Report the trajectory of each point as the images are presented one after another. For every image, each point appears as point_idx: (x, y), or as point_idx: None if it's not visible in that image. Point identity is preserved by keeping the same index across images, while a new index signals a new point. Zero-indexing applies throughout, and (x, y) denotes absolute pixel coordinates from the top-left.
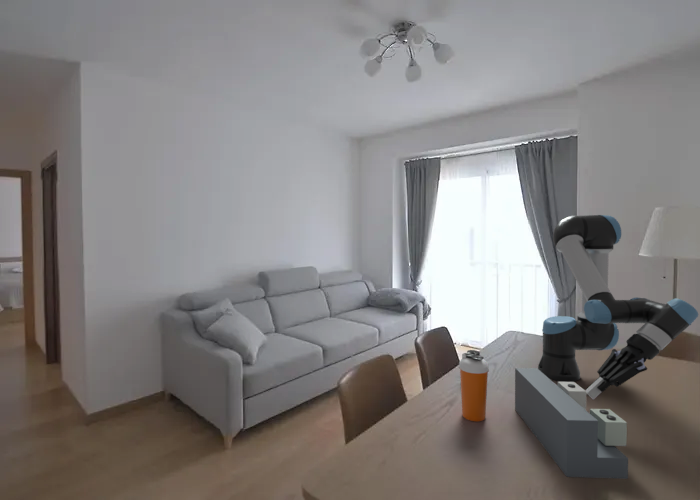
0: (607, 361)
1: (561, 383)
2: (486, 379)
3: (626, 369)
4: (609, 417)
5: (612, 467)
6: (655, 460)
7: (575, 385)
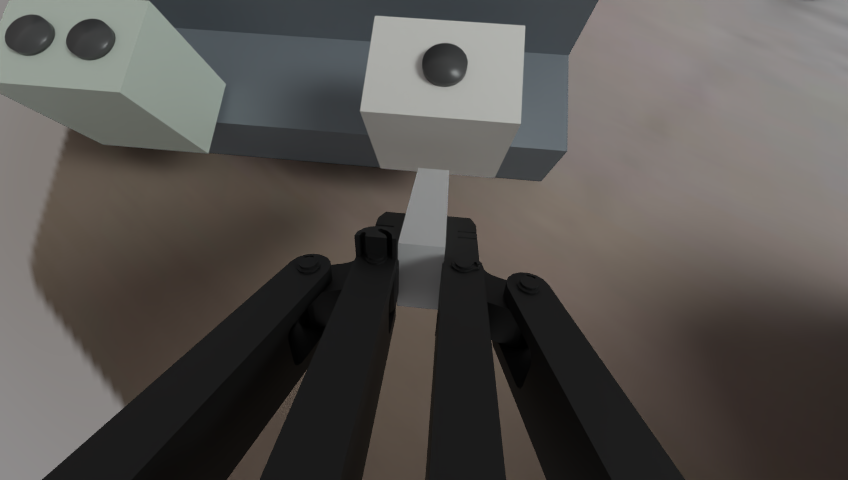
0: (612, 447)
1: (493, 33)
2: None
3: (131, 441)
4: (26, 22)
5: None
6: (179, 297)
7: (458, 99)
